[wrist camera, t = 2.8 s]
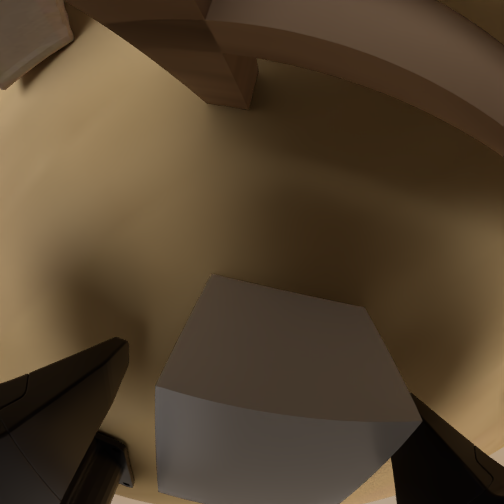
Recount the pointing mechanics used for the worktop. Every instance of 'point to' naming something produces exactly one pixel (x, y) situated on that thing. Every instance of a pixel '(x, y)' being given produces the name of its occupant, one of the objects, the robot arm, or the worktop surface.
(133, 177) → the worktop surface
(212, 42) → the stand
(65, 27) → the grey block
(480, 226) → the worktop surface
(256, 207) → the worktop surface
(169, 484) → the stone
